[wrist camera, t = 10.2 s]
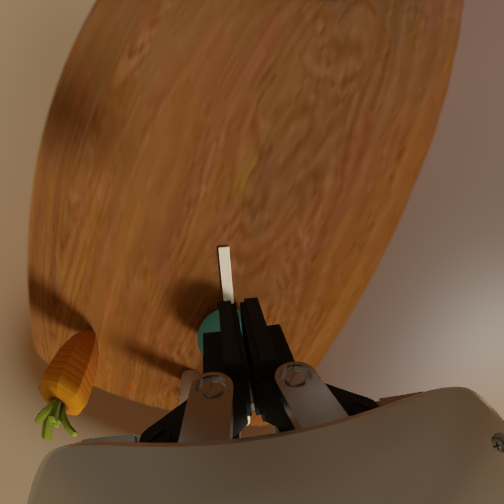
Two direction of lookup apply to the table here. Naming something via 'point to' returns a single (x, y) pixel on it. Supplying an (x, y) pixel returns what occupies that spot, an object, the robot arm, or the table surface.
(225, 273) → the lane line
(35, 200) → the table surface
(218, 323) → the ball
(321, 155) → the table surface
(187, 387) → the white cylinder rod
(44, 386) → the carrot
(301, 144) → the table surface
